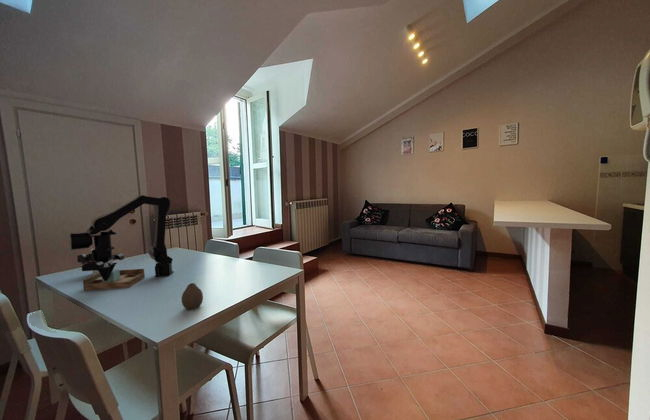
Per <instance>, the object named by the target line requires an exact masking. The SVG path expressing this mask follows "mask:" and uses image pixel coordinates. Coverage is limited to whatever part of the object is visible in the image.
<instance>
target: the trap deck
mask: <svg viewBox="0 0 650 420" xmlns="http://www.w3.org/2000/svg"><path fill="white" fill-rule="evenodd" d="M119 271H120V278H119V279H117V280H115V281H108V282H103V279H102V276H101V274H100V273H98V274H96V275H94V276H93V275H91V276H89V277H87V278H85V279H83V280H82V284H83V291H94V290H95V291H97V290H98V291H99V290H109V289H124V288H131V287H132V286H134V285H136V284H138V283H139V282H140V281H142V280H143V279H145V277H146V276H145V275H146V273H145V268H133V269H130V268H129V269H119Z"/></svg>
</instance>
